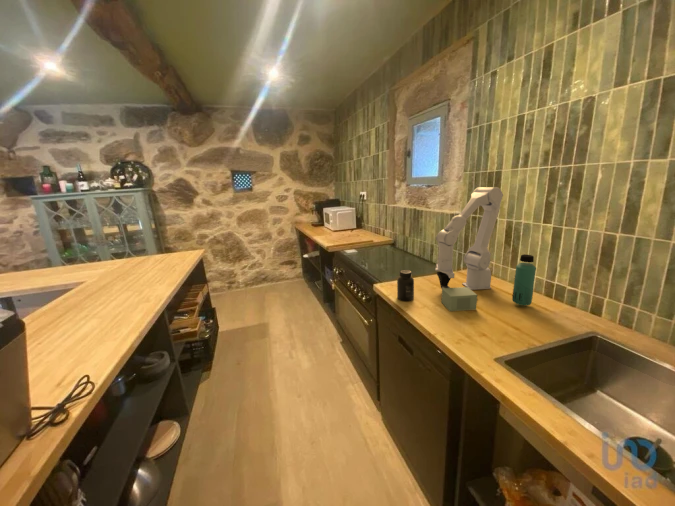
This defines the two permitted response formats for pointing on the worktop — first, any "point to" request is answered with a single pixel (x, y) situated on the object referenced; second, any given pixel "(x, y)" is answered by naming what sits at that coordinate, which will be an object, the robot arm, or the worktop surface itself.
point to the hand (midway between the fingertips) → (443, 288)
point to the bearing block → (459, 299)
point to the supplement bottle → (405, 286)
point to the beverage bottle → (524, 281)
